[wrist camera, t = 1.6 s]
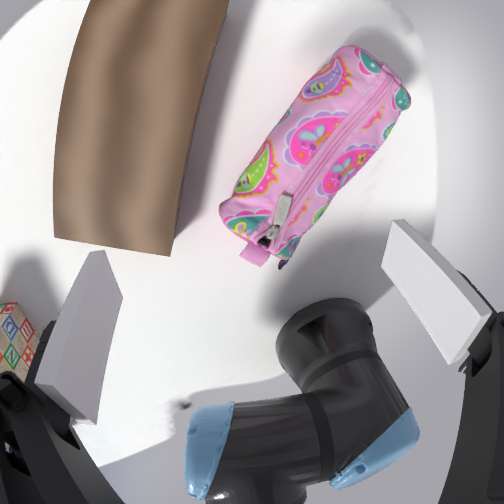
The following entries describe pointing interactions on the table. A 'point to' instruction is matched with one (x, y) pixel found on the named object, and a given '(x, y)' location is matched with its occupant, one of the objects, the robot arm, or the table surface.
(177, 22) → the walnut riser
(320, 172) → the pencil case
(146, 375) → the table surface
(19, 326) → the stack of blocks
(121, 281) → the table surface
